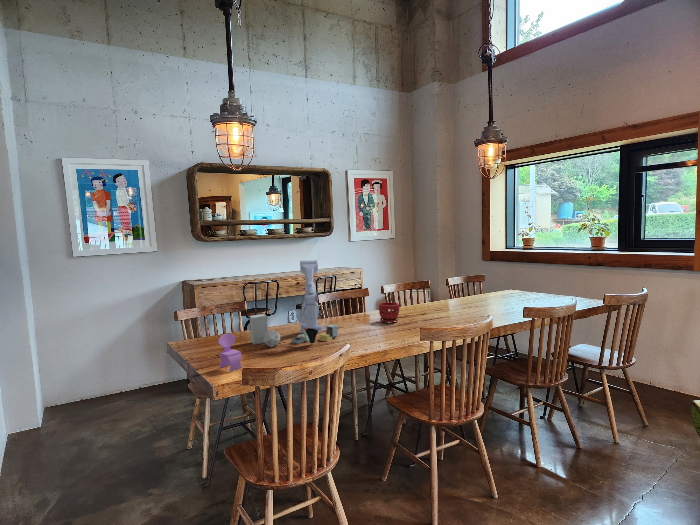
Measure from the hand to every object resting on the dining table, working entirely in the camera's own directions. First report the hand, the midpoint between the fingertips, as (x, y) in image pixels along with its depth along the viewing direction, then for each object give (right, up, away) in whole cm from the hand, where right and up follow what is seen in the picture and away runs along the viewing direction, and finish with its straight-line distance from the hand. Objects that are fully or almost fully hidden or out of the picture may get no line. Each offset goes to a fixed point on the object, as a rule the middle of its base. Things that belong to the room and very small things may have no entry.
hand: (312, 342), depth 218 cm
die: (-21, -2, 0) cm, 21 cm away
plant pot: (+45, +4, +50) cm, 68 cm away
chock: (+7, -1, +9) cm, 11 cm away
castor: (+10, 0, +13) cm, 16 cm away
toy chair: (-33, -5, -35) cm, 48 cm away
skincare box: (-29, -2, +8) cm, 30 cm away
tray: (-4, 0, +11) cm, 12 cm away
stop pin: (-4, 0, +11) cm, 12 cm away
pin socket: (-8, -1, +6) cm, 10 cm away
